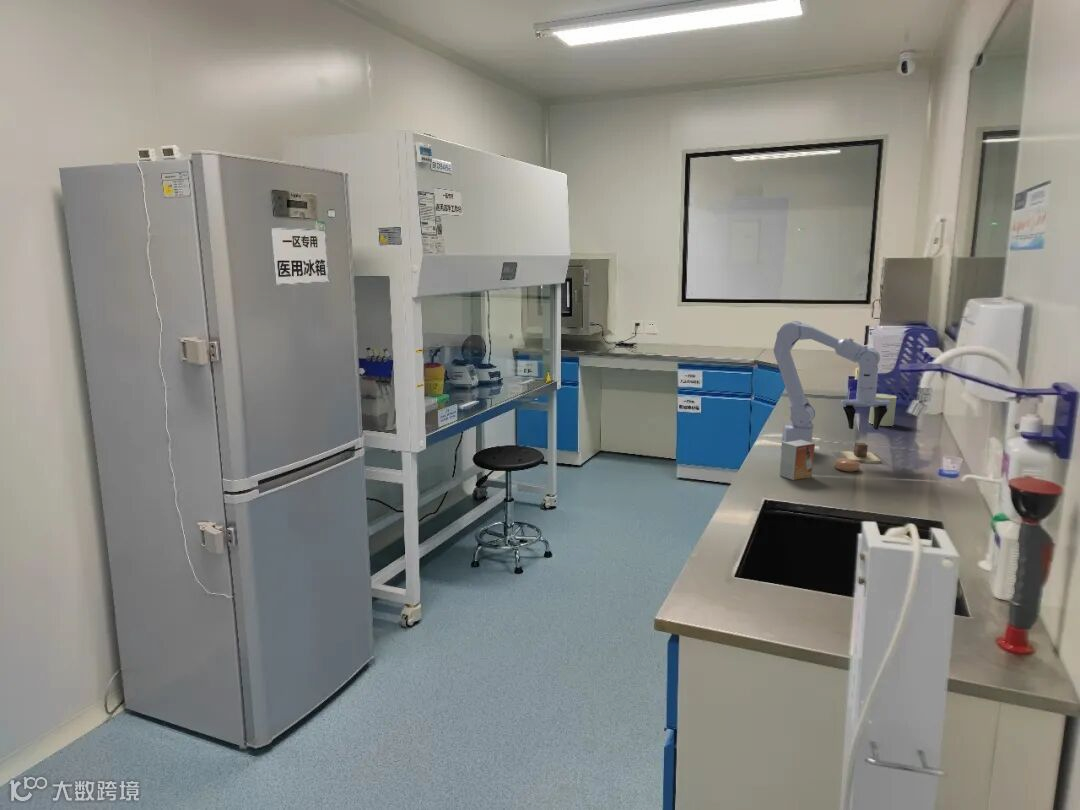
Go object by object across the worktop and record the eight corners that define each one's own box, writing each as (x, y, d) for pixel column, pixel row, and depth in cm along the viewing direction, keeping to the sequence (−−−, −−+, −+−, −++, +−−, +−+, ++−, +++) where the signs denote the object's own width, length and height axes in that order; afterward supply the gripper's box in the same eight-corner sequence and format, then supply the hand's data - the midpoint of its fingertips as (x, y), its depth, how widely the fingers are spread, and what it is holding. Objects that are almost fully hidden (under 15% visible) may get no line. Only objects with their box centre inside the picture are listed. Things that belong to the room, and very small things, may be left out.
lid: (848, 461, 221) (850, 447, 220) (839, 453, 231) (840, 439, 230) (881, 463, 220) (883, 448, 219) (870, 454, 229) (872, 440, 228)
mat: (842, 464, 220) (843, 462, 220) (831, 454, 232) (832, 452, 232) (889, 466, 219) (889, 464, 219) (875, 455, 230) (875, 454, 230)
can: (899, 425, 272) (902, 396, 270) (881, 427, 269) (885, 397, 266) (879, 420, 281) (883, 391, 278) (862, 422, 277) (866, 393, 275)
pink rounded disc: (837, 473, 211) (838, 464, 210) (831, 466, 217) (832, 457, 217) (861, 474, 210) (863, 465, 209) (854, 467, 217) (855, 458, 216)
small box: (793, 480, 204) (796, 446, 201) (778, 475, 208) (781, 441, 206) (812, 477, 207) (815, 443, 205) (797, 472, 212) (800, 438, 210)
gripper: (847, 389, 217) (843, 431, 220) (895, 389, 216) (891, 431, 219) (840, 385, 224) (836, 426, 227) (886, 385, 223) (883, 426, 225)
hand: (863, 428), depth 223 cm, fingers open, 7 cm apart
